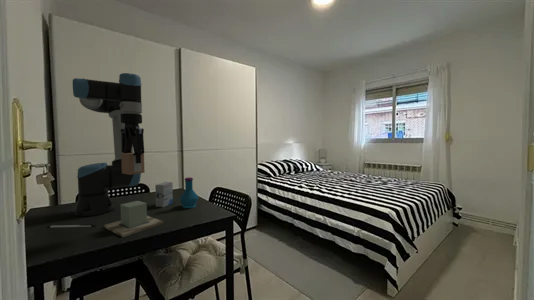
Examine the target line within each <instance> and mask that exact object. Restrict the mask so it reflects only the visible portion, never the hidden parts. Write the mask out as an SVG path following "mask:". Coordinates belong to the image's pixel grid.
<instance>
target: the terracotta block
mask: <svg viewBox="0 0 534 300" xmlns="http://www.w3.org/2000/svg"><path fill="white" fill-rule="evenodd" d="M132 154H134V152H133V153H123V154H121V162H122V173H123V174H128V175H131V174H138V173H141V174H145V153H144V154H142V155H141V171H138V172H134V169H133V155H132Z"/></svg>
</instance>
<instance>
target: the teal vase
mask: <svg viewBox="0 0 534 300" xmlns="http://www.w3.org/2000/svg"><path fill="white" fill-rule="evenodd" d="M193 180H194V177H191V176H190V177H185V178H184V182H185V190H184V191H183V193H182V194H181V195H180V197H179V201H180V203H181V205H182V208H183V209H191V208H195V207H196V206H197V205H196V204H197V203H198V200H199V195H198V194H197V193H196V192H195V190H194V189H193V186H194V184H193Z"/></svg>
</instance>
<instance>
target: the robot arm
mask: <svg viewBox="0 0 534 300" xmlns="http://www.w3.org/2000/svg"><path fill="white" fill-rule="evenodd" d="M72 95H73V96H74V98H76V99H77V98H79V102H80V104H81V105H82V107H84V108H85V109H86V110H90V111H93V112H96V113H103V114H108V117H109V118H110V119H112V121H111V122H112V123H111V124H112V136H113V148H114V149H113V150H114V159H113V160H112V161H111V164H110V165H108V163H107V162H98V163H96V162H95V163H91V164H86V165H82V166H80V167H79V168H78V169H77V176H76V178H77V186H78V187H77V188H78V189H77V190H78V194H77V195H78V199H77V201H76V204H75V207H74V211H73V212H74V216H77V217H89V216H91V217H92V216H97V215H102V214H106V213H108V212H111V211H112V210H114V205H113V204H114V203H113V202H112V200H111V197H110V195H109V190H110V189H117V188H124V187H126V188H128V187H129V188H130V187H134V186H138V185H139V184H140V181H141V177H142V176H141V175H142V173H138V174H131V175H128V174H123V173H122V162H121V154H123V153H134V154H132V155H133V169H134V172H138V171H141V155H142V154H144V155H145V141H144V131H145V130H144V128H140V124H142V123H143V115H142V113H143V108H142V107H143V103H142V81H141V77H140V75H138V74H135V73H130V72H129V73H127V72H121V73H120V74H119V75H118V82H113V81H104V80H96V79H95V80H94V79H87V78H72Z"/></svg>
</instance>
